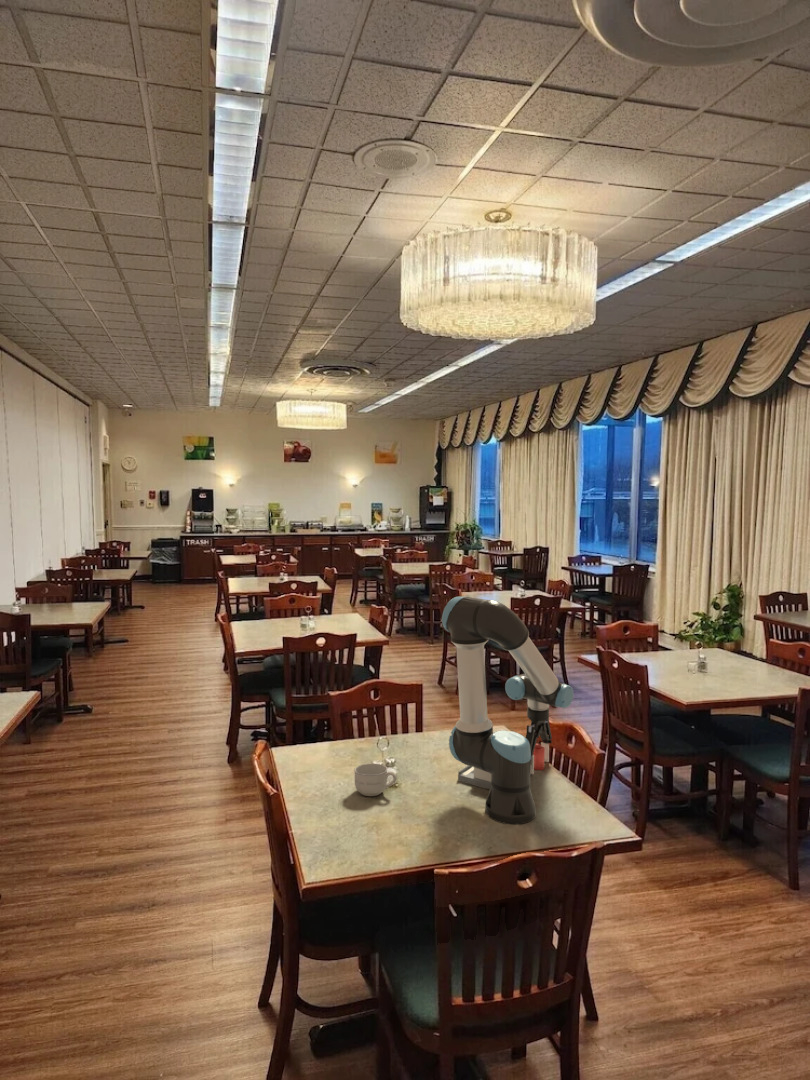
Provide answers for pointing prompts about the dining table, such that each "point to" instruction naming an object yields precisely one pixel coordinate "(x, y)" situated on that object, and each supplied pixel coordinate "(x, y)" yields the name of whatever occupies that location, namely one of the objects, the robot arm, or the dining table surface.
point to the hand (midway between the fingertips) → (537, 767)
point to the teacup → (372, 779)
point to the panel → (472, 778)
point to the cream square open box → (482, 774)
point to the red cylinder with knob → (539, 757)
